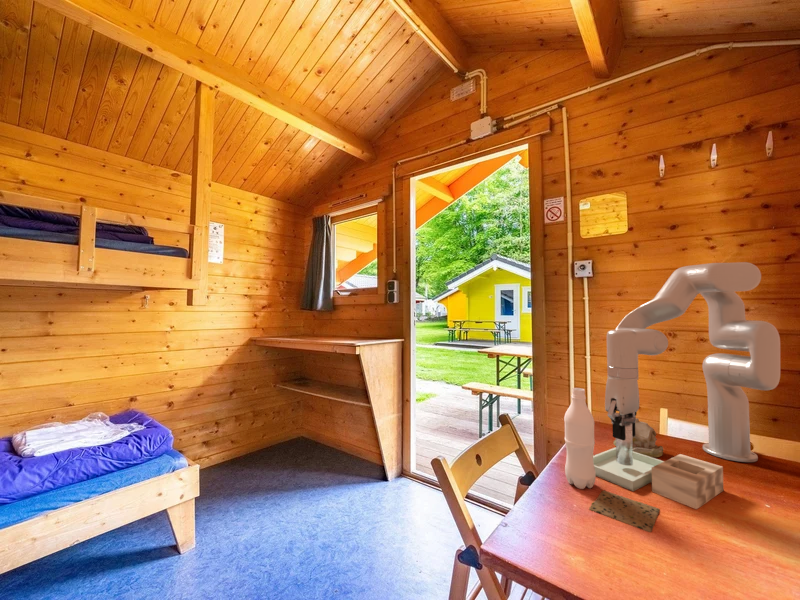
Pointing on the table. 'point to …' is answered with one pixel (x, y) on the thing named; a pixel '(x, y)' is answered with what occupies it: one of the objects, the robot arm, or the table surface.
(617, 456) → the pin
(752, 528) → the table surface
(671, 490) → the block
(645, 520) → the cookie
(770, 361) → the robot arm
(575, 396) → the water bottle
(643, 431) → the ceramic model
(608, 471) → the tray
